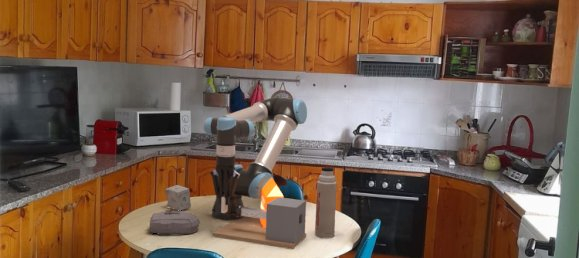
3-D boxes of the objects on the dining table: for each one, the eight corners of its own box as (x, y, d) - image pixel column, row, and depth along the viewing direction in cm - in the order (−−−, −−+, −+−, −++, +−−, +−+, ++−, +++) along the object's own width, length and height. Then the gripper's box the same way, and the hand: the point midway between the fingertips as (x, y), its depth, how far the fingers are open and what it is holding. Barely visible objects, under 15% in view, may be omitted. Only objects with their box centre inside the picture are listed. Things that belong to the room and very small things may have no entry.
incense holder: (164, 208, 250) (164, 186, 249) (179, 205, 256) (179, 184, 255) (176, 212, 244) (176, 190, 243) (191, 209, 250) (191, 187, 249)
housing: (212, 236, 211) (213, 198, 210) (230, 225, 226) (231, 190, 225) (292, 249, 200) (294, 208, 198) (306, 237, 215) (307, 199, 213)
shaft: (234, 218, 213) (235, 206, 213) (240, 215, 218) (240, 203, 218) (276, 224, 207) (277, 211, 207) (281, 220, 212) (281, 208, 211)
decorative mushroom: (286, 207, 259) (287, 177, 257) (263, 206, 259) (264, 176, 257) (286, 202, 270) (287, 173, 268) (265, 201, 270) (266, 172, 268)
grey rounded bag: (147, 236, 209) (198, 236, 211) (147, 216, 208) (199, 216, 210) (152, 225, 224) (200, 225, 226) (152, 206, 223) (201, 206, 225)
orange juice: (263, 229, 224) (266, 185, 218) (259, 219, 232) (262, 176, 226) (281, 228, 226) (285, 184, 220) (276, 218, 234) (280, 176, 228)
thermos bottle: (316, 237, 214) (319, 169, 211) (313, 231, 222) (316, 165, 219) (335, 238, 215) (338, 170, 212) (332, 232, 223) (335, 166, 220)
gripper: (206, 155, 214) (205, 212, 216) (236, 158, 209) (234, 216, 212) (215, 152, 221) (214, 208, 223) (244, 155, 216) (242, 212, 219)
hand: (224, 212), depth 218 cm, fingers closed
